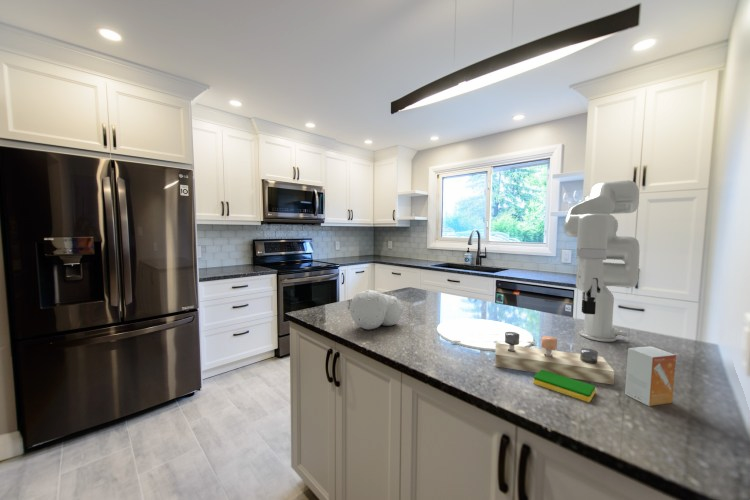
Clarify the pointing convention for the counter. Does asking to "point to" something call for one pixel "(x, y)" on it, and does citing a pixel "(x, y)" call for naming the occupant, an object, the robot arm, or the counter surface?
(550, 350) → the middle knob
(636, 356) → the small box
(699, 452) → the counter surface
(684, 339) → the counter surface
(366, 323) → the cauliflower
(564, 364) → the knob mount
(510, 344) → the far knob
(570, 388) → the dish sponge
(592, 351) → the near knob
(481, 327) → the lazy susan
